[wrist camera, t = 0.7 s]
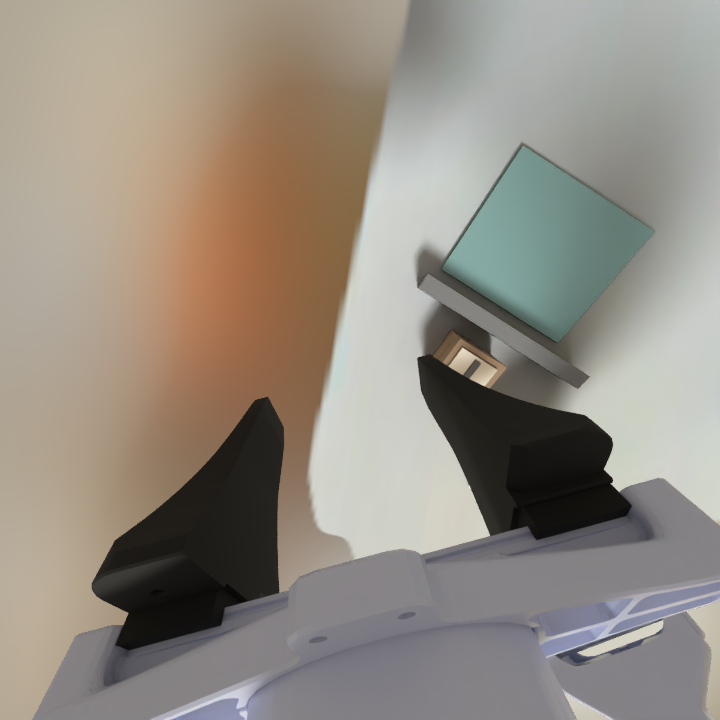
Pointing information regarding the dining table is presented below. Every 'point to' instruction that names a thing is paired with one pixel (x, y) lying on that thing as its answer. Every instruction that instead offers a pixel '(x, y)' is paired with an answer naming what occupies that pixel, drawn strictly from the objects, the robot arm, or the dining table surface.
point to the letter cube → (469, 360)
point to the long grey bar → (502, 331)
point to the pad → (545, 245)
